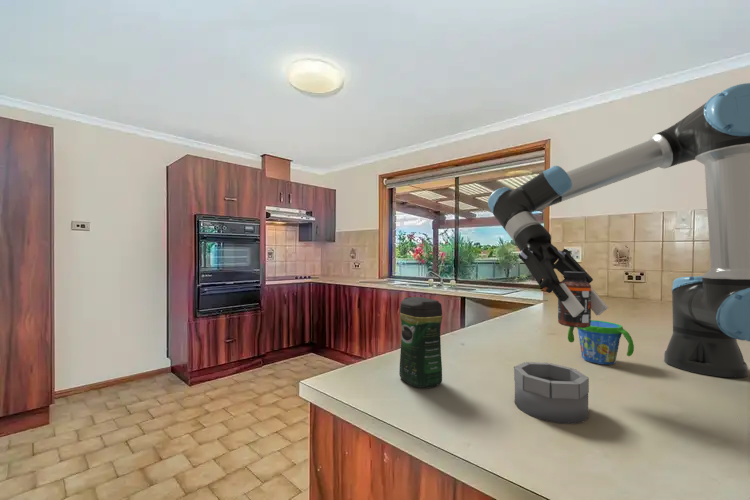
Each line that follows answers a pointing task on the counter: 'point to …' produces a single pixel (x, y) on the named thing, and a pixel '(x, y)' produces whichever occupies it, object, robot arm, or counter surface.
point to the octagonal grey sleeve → (551, 392)
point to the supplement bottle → (582, 294)
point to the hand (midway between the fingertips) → (590, 312)
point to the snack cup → (601, 341)
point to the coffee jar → (421, 342)
